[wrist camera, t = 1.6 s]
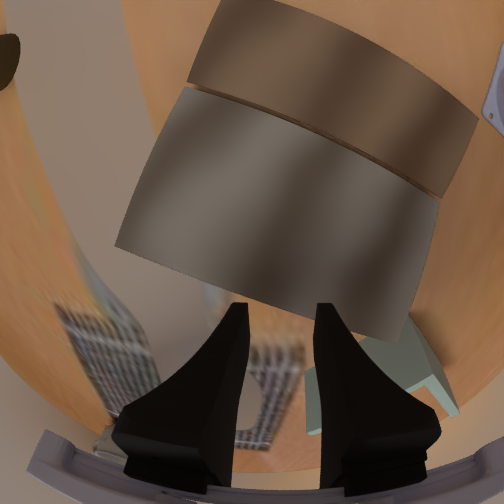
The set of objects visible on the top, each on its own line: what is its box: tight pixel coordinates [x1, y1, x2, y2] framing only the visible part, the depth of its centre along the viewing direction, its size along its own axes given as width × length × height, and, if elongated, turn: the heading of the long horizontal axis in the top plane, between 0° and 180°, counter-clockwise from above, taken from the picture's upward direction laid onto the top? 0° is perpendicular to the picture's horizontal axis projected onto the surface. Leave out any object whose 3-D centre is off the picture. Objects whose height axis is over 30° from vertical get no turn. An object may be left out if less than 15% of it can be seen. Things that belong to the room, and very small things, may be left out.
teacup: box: [92, 423, 128, 466], centre depth 39 cm, size 14×11×8 cm
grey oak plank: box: [115, 87, 440, 344], centre depth 16 cm, size 18×10×2 cm, turn 69°
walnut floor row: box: [187, 0, 479, 199], centre depth 14 cm, size 18×7×2 cm, turn 69°
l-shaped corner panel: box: [304, 314, 460, 435], centre depth 24 cm, size 12×12×8 cm
